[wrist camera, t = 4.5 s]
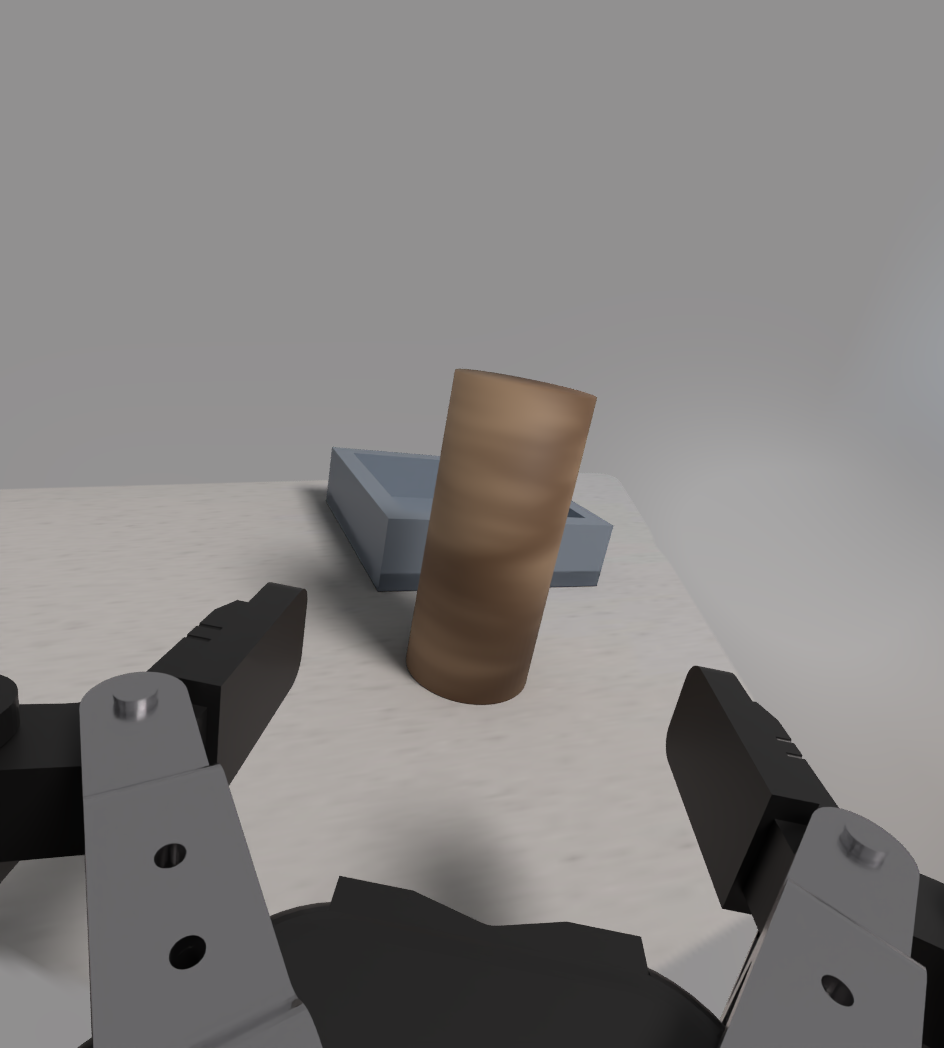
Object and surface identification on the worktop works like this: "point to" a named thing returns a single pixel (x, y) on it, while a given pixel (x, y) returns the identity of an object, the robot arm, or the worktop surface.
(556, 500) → the canister
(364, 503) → the tray
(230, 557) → the worktop surface
